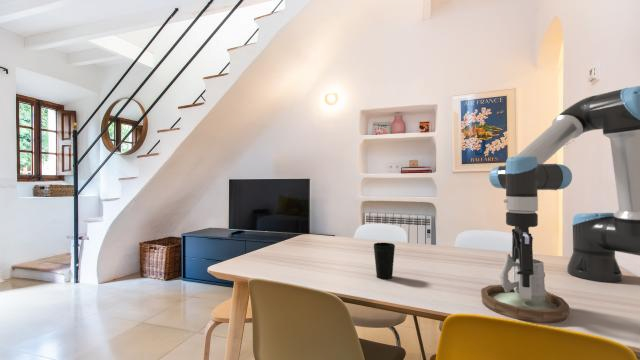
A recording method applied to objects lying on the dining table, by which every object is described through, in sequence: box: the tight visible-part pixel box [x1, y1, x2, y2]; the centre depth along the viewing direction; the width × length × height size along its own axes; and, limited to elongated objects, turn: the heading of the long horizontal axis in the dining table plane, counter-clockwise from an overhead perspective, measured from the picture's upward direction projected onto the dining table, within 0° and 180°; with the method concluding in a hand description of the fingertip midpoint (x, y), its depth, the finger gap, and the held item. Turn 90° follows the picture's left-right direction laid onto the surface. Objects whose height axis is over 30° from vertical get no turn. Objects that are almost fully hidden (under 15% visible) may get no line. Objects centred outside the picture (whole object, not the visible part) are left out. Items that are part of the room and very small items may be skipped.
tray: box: [480, 284, 570, 324], centre depth 88 cm, size 20×20×3 cm
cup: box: [373, 242, 396, 280], centre depth 116 cm, size 8×8×12 cm
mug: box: [499, 252, 548, 301], centre depth 88 cm, size 8×12×12 cm, turn 90°
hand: (522, 293), depth 88 cm, fingers closed on mug, 7 cm apart
